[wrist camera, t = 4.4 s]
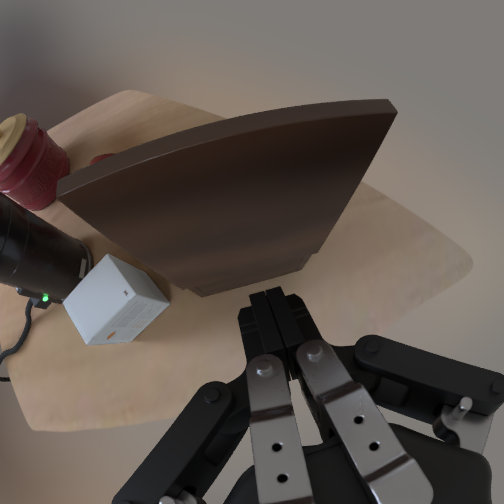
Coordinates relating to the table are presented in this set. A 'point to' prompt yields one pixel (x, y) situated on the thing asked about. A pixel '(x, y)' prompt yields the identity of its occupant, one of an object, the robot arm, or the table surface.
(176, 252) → the lid
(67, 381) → the table surface
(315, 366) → the robot arm
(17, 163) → the kitchen canister
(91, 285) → the small box
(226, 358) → the table surface
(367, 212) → the table surface
